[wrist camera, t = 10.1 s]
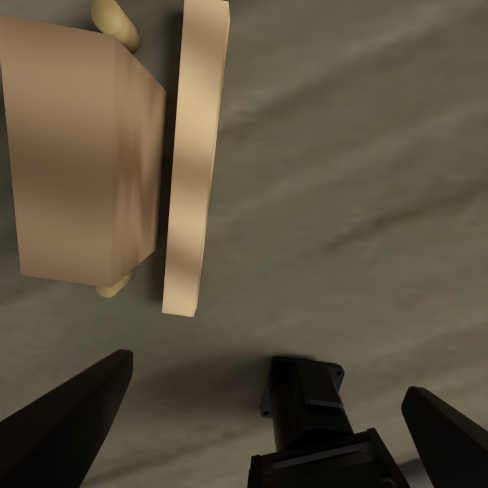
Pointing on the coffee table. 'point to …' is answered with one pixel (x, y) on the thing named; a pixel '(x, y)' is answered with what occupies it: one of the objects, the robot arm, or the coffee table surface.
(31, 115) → the thick tan wooden block
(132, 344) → the coffee table surface
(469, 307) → the coffee table surface
